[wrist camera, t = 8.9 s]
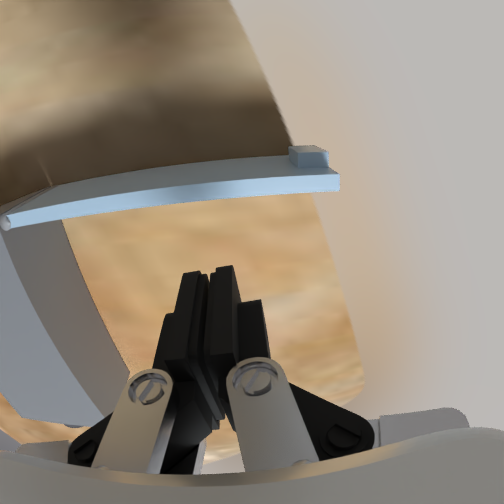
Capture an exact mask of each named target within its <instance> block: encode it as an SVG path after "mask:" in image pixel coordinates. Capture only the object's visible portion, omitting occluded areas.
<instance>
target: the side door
mask: <svg viewBox="0 0 504 504" xmlns="http://www.w3.org/2000/svg"><path fill="white" fill-rule="evenodd" d="M288 153H289V155H280V156H263V157H249V158H237V159H226V160H215V161H206V162H197V163H188V164H180V165H172V166H164V167H157V168H150V169H144V170H137V171H131V172H125V173H119V174H113V175H107V176H102V177H97V178H91V179H86V180H81V181H76V182H71V183H67V184H62V185H57V184H56V185H54V186H52V187H50V188H48V189H46V190H44V191H42V192H41V193H39V194H37V195H35V196H33V197H32V198H30V199H28V200H26V201H24V202H23V203H21V204H19V205H18V206H16V207H14V208H12V209H11V210H9V211H7V212H6V213H4V214H2V215H1V216H0V226H1V227H2V229H3V230H5V231H8V230H9V229H11V228H15V227H20V226H26V225H31V224H37V223H42V222H48V221H54V220H60V219H66V218H72V217H78V216H85V215H92V214H98V213H105V212H112V211H120V210H127V209H135V208H142V207H150V206H159V205H167V204H176V203H185V202H195V201H205V200H215V199H226V198H237V197H249V196H262V195H276V194H291V193H307V192H327V191H340V188H339V187H340V174H339V173H337V172H335V171H334V170H332V169H331V168H329V160H328V159H329V158H328V157H329V156H328V151H326V150H324V149H321V148H319V147H317V146H314V145H312V146H311V145H310V146H288Z"/></svg>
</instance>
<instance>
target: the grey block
mask: <svg viewBox="0 0 504 504" xmlns="http://www.w3.org/2000/svg"><path fill="white" fill-rule="evenodd" d="M50 187H51V186H50ZM50 187H47V188H44V189H41V190H39V191H36V192H34V193H31V194H28V195H26V196H23V197H21V198H18V199H16V200H13V201H11V202H9V203H6V204H4V205H2V206H0V216H1V215H2V214H4V213H6V212H7V211H9V210H11V209H12V208H14V207H16V206H18V205H19V204H21V203H23V202H24V201H26V200H28V199H30V198H32V197H33V196H35V195H37V194H39V193H41V192H42V191H44V190H46V189H48V188H50ZM129 374H130V372H129V370H128V368H127V366H126V365H125V363H124V361H123V359H122V357H121V356H120V354H119V352H118V350H117V348H116V346H115V344H114V342H113V341H112V339H111V337H110V335H109V333H108V331H107V329H106V327H105V325H104V323H103V321H102V319H101V317H100V314H99V312H98V310H97V308H96V306H95V304H94V302H93V299H92V297H91V295H90V293H89V290H88V288H87V286H86V284H85V281H84V279H83V276H82V274H81V272H80V269H79V267H78V264H77V262H76V259H75V257H74V254H73V251H72V249H71V246H70V244H69V241H68V238H67V235H66V232H65V230H64V227H63V224H62V221H61V219H60V220H54V221H48V222H42V223H37V224H31V225H26V226H20V227H15V228H11V229H9V230H8V231H5V230H3V229H2V227H1V226H0V392H1V393H2V395H3V396H4V397H5V398H6V400H7V401H8V402H9V403H10V404H11V406H12V407H13V408H14V409H15V410H16V412H17V413H18V414H19V415H20V416H21V417H22V418H27V419H33V420H39V421H46V422H53V423H60V424H64V425H65V426H67V427H70V428H79V427H83V426H88V427H92V426H94V425H95V424H97V423H98V422H99V421H101V420H102V419H104V418H105V417H106V416H108V415H109V414H111V413H112V412H113V411H114V410H115V407H116V405H117V403H118V400H119V398H120V396H121V394H122V391H123V389H124V387H125V385H126V383H127V380H128V377H129Z"/></svg>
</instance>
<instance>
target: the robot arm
mask: <svg viewBox="0 0 504 504" xmlns="http://www.w3.org/2000/svg"><path fill="white" fill-rule="evenodd" d="M225 413H226V415H227V418H228V420H229V422H230V424H231V426H232V429H233V430H234V431H235V432H236V433H237V438H238V442H239V447H240V451H241V455H242V460H243V464H244V468H245V472H240V473H225V474H202V475H200V474H201V469H202V464H203V459H204V454H205V449H206V437H207V436H208V435H209V434H210V433H212V430H216V429H219V425H220V420H224V419H225ZM0 504H504V431H501V430H497V429H493V428H482V427H474V428H470V427H469V423H468V421H467V418H466V416H465V415H464V414H463V413H462V412H460V411H459V410H457V409H454V408H440V409H433V410H427V411H420V412H412V413H404V414H394V415H384V416H379V419H375V420H366V419H364V418H362V417H361V416H359V415H357V414H355V413H352V412H350V411H348V410H346V409H343V408H341V407H339V406H337V405H335V404H333V403H330V402H328V401H326V400H324V399H322V398H320V397H318V396H316V395H314V394H312V393H309V392H307V391H305V390H303V389H301V388H299V387H297V386H295V385H293V384H291V383H289V382H288V381H287V378H286V375H285V373H284V370H283V369H282V367H281V366H280V364H278V363H277V362H276V361H274V360H272V359H271V356H270V349H269V342H268V335H267V329H266V323H265V318H264V312H263V307H262V302H261V299H260V300H254V301H248V302H241V298H240V294H239V289H238V285H237V281H236V276H235V272H234V268H233V265H229V266H224V267H218V268H216V272H214V273H211V274H210V283H209V279H208V276H207V274H201V272H200V271H194V272H188V273H183V276H182V280H181V284H180V289H179V293H178V297H177V301H176V306H175V310H174V313H168V314H166V315H165V318H164V321H163V325H162V329H161V333H160V337H159V341H158V346H157V350H156V354H155V358H154V363H153V367H152V369H147V370H144V371H141V372H139V373H137V374H135V375H134V376H133V377H132V378H130V379H129V380H128V382H127V383H126V385H125V387H124V389H123V391H122V394H121V396H120V398H119V400H118V403H117V405H116V407H115V410H114V411H113V412H112V413H111V414H109V415H108V416H106V417H105V418H104V419H102V420H101V421H99V422H98V423H97V424H95V425H94V426H92V427H91V428H90V429H88V430H87V431H85V432H84V433H83V434H81V435H80V436H78V437H77V438H76V439H75V440H74V441H73V442H72V443H71V442H70V441H69V440H64V441H54V442H41V443H27V444H23V445H21V446H20V447H19V448H18V449H17V450H16V452H10V451H4V450H0Z"/></svg>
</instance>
